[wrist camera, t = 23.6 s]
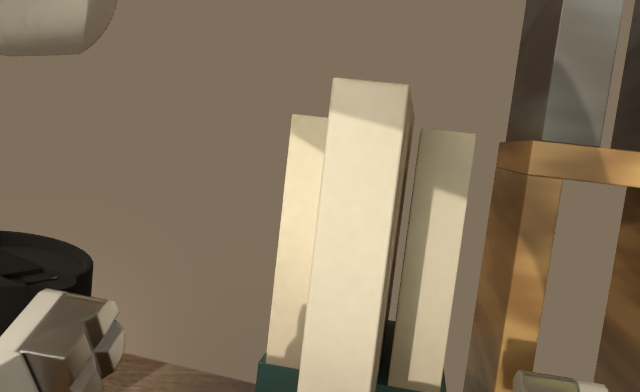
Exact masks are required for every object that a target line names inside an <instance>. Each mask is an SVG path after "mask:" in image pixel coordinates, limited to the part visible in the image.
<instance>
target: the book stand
mask: <svg viewBox="0 0 640 392" xmlns="http://www.w3.org/2000/svg"><path fill="white" fill-rule="evenodd" d="M623 5H624V0H527V1H526V8H525V15H524V22H523V28H522V35H521V42H520V49H519V56H518V62H517V69H516V76H515V83H514V89H513V96H512V103H511V110H510V116H509V123H508V130H507V137H506V142H500V143H499V150H498V157H497V163H496V171H495V178H494V184H493V191H492V198H491V204H490V212H489V218H488V226H487V232H486V239H485V245H484V252H483V259H482V266H481V273H480V279H479V286H478V294H477V300H476V307H475V314H474V321H473V327H472V334H471V342H470V348H469V355H468V361H467V369H466V375H465V382H464V388H463V392H513V380H514V377H515V374H516V373H517V371H518V370H522V371H529V372H532V371H533V365H534V358H535V353H536V346H537V340H538V334H539V328H540V327H539V326H540V321H541V315H542V309H543V302H544V296H545V290H546V283H547V277H548V271H549V265H550V258H551V252H552V246H553V240H554V234H555V227H556V220H557V215H558V208H559V202H560V196H561V190H562V183H563V179H568V180H577V181H585V182H594V183H602V184H610V185H619V186H627V191H626V196H625V203H624V208H623V214H622V220H621V226H620V231H619V237H618V243H617V249H616V254H615V261H614V267H613V272H612V278H611V284H610V289H609V295H608V302H607V307H606V313H605V319H604V325H603V331H602V337H601V342H600V348H599V353H598V359H597V365H596V371H595V377H594V383H599V384H604V385H605V386H606V388H607V389H608V392H640V0H635V6H634V11H633V17H632V23H631V29H630V35H629V41H628V47H627V53H626V59H625V66H624V71H623V77H622V83H621V89H620V95H619V101H618V107H617V113H616V119H615V125H614V131H613V136H612V143H611V148H610V149H608V148H599V147H600V143H601V138H602V130H603V125H604V118H605V113H606V107H607V101H608V95H609V89H610V83H611V77H612V71H613V65H614V59H615V53H616V47H617V41H618V35H619V29H620V22H621V17H622V11H623Z"/></svg>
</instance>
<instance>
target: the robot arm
mask: <svg viewBox="0 0 640 392" xmlns="http://www.w3.org/2000/svg"><path fill="white" fill-rule="evenodd" d="M116 5H117V0H0V55H4V56H48V55H69V54H70V55H71V54H81V53H82V52H84V51H85V50H87V49H88V48H89V47H91V46H92V45H93V44H94V43H95V42H96V41H97V40H98V39H99V38H100V37H101V36H102V34H103V33H104V31H105V30H106V29H107V27H108V25H109V23H110V21H111V20H112V17H113V15H114V12H115V9H116ZM118 314H119V311H118V308H117V305H116V303H115V302H113V301H109V300H104V299H99V298H94V297H90V296H85V295H80V294H75V293H70V292H64V291H59V290H53V289H48V288H46V289H44V290H42V291H40V292H39V293H38V294H37V295H36V296H35V297H34V298H33V299H32V301H31V302H30V303H29V304H28V305H27V306H26V308H25V309H24V310H23V311H22V312H21V313H20V314H19V316H18V317H17V318H16V319H15V320H14V321H13V323H12V324H11V325H10V326H9V327H8V328H7V330H6V331H5V332H4V333H3V334H2V335H1V337H0V392H102V391H103V383H102V379H103V378H104V377H106V376H108V375H109V374H111V373H112V372H114V371H115V369H116V368H117V366H118V364H119V362H120V361H121V358H122V355H123V351H124V348H125V333H124V329H123V327H122V326H121V325H120V324H119V323H118V322H117V321H116V320H115V319H116V317H117V316H118ZM513 392H608V389H607V388H606V386H605V385H604V384H599V383H592V382H587V381H581V380H573V379H572V378H567V377H560V376H554V375H548V374H541V373H535V372H529V371H522V370H518V371H517V373H516V374H515V377H514V380H513Z"/></svg>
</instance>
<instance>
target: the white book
mask: <svg viewBox="0 0 640 392" xmlns="http://www.w3.org/2000/svg"><path fill="white" fill-rule="evenodd" d="M414 119H415V118H414V112H413V105H412V99H411V92H410V86H409V85H407V84H398V83H387V82H377V81H367V80H357V79H356V80H355V79H346V78H334V79H333V83H332V92H331V100H330V109H329V117H328V126H327V135H326V143H325V152H324V161H323V170H322V178H321V187H320V196H319V204H318V213H317V222H316V231H315V239H314V248H313V257H312V266H311V274H310V283H309V292H308V300H307V309H306V318H305V327H304V335H303V344H302V353H301V362H300V370H299V379H298V388H297V392H375V390H376V384H377V379H378V373H379V367H380V362H381V356H382V351H383V345H384V340H385V334H386V328H387V323H388V317H389V310H390V303H391V295H392V288H393V280H394V272H395V264H396V256H397V249H398V241H399V234H400V226H401V218H402V211H403V203H404V196H405V188H406V180H407V173H408V164H409V157H410V150H411V142H412V134H413V126H414Z"/></svg>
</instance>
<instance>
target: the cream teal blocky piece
mask: <svg viewBox="0 0 640 392" xmlns="http://www.w3.org/2000/svg"><path fill="white" fill-rule="evenodd" d="M327 126H328V118H324V117H315V116H306V115H297V114H293V115H292V123H291V131H290V141H289V150H288V160H287V168H286V178H285V187H284V197H283V205H282V215H281V224H280V233H279V234H280V235H279V243H278V253H277V262H276V270H275V280H274V290H273V298H272V308H271V317H270V327H269V335H268V345H267V352H266V353H265V355H264V356H263V357H262V359H261V360H260V361H259V363H258V372H257V381H256V390H255V391H256V392H297V388H298V379H299V370H300V362H301V353H302V344H303V335H304V327H305V318H306V309H307V300H308V292H309V283H310V274H311V266H312V257H313V248H314V239H315V231H316V222H317V213H318V204H319V196H320V187H321V178H322V170H323V161H324V152H325V143H326V135H327ZM475 142H476V134H471V133H461V132H453V131H443V130H434V129H425V128H422V129H421V133H420V139H419V147H418V154H417V162H416V169H415V177H414V185H413V192H412V200H411V207H410V215H409V222H408V230H407V238H406V245H405V253H404V261H403V268H402V276H401V283H400V291H399V298H398V307H397V313H396V321H390V320H388V323H387V328H386V334H385V340H384V345H383V351H382V356H381V362H380V367H379V373H378V379H377V384H376V390H375V392H446V384H445V376H444V368H443V367H444V360H445V353H446V346H447V339H448V332H449V325H450V318H451V311H452V303H453V297H454V290H455V283H456V276H457V269H458V262H459V255H460V247H461V241H462V232H463V226H464V219H465V212H466V205H467V198H468V191H469V184H470V177H471V170H472V163H473V156H474V149H475Z"/></svg>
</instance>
